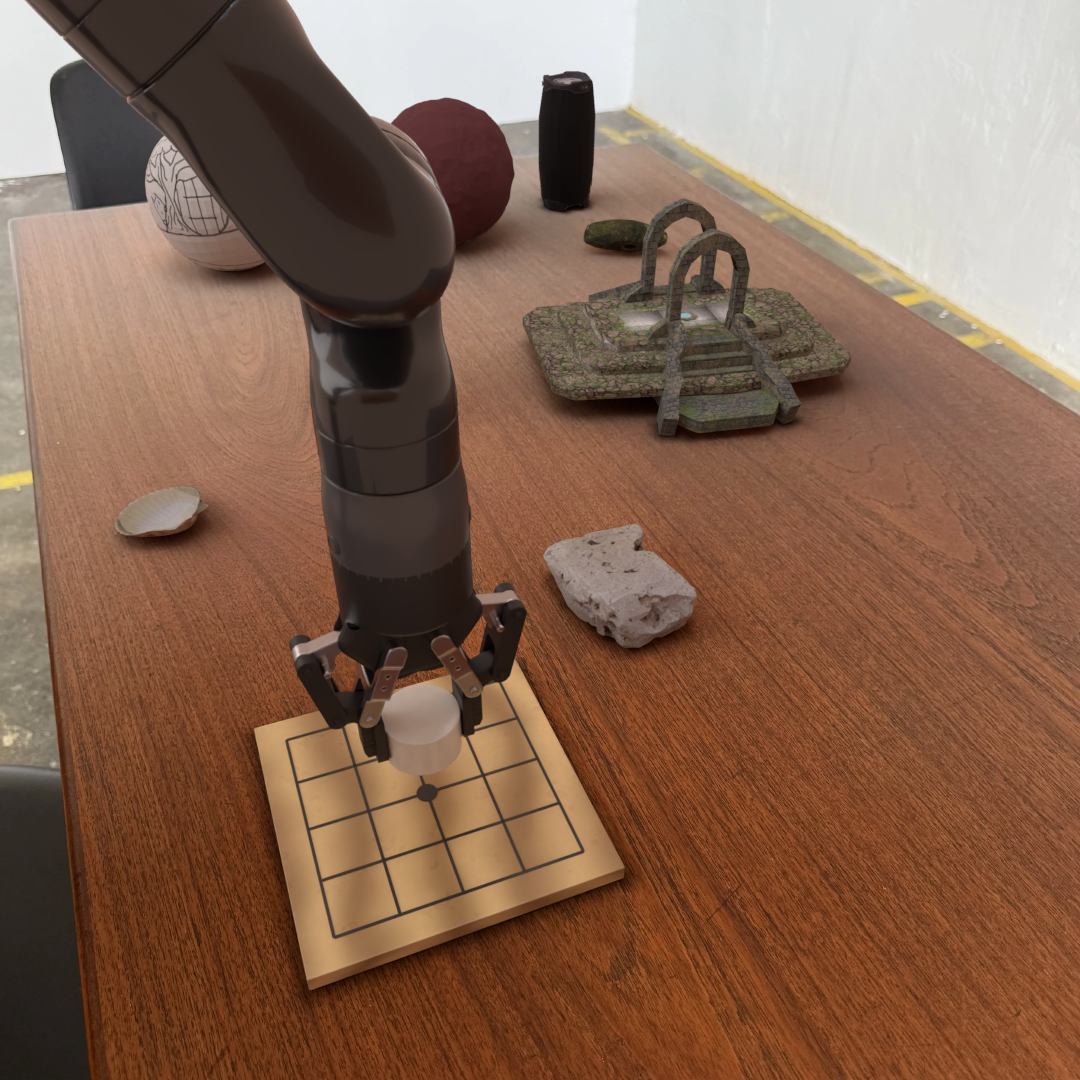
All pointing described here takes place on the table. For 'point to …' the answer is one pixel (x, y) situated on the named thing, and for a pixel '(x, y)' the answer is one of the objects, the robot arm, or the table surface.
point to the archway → (688, 339)
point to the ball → (193, 214)
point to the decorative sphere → (463, 160)
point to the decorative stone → (619, 235)
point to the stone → (620, 585)
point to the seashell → (161, 512)
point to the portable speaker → (566, 139)
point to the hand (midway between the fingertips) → (422, 738)
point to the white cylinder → (422, 729)
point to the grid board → (426, 833)
